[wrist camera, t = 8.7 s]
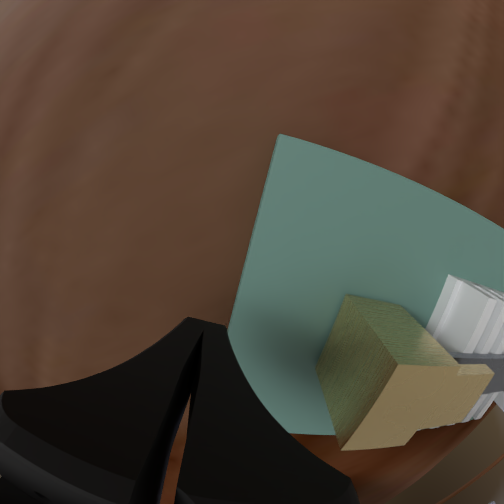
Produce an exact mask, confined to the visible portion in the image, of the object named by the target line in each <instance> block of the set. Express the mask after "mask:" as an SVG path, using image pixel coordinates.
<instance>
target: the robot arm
mask: <svg viewBox="0 0 504 504" xmlns="http://www.w3.org/2000/svg"><path fill="white" fill-rule="evenodd" d="M190 394H191V399H190V408H189V418H188V428H187V439H186V444H185V449H184V454H183V459H182V463H181V468H180V473H179V478H178V483H177V489H176V495H175V501H174V504H360V503H359V499H358V496H357V493H356V491H355V488H354V486H353V484H352V481H351V479H350V478H349V477H348V476H346V475H344V474H343V473H341V472H339V471H338V470H336V469H335V468H333V467H332V466H330V465H328V464H327V463H325V462H324V461H322V460H321V459H319V458H318V457H317V456H315V455H314V454H313V453H311V452H310V451H309V450H308V449H306V448H305V447H304V446H303V445H301V444H300V443H299V442H298V441H297V440H296V439H295V438H293V437H292V436H291V435H290V434H289V433H288V432H287V431H286V430H285V429H284V428H283V427H282V426H281V425H280V424H279V422H278V421H277V420H276V419H275V418H274V417H273V416H272V415H271V414H270V412H269V411H268V410H267V409H266V407H265V406H264V405H263V403H262V402H261V401H260V399H259V398H258V396H257V395H256V393H255V392H254V390H253V389H252V387H251V386H250V384H249V382H248V380H247V379H246V377H245V375H244V373H243V371H242V369H241V367H240V365H239V363H238V361H237V358H236V356H235V354H234V351H233V349H232V346H231V343H230V340H229V336H228V332H227V328H226V327H225V325H220V324H216V323H212V322H207V321H203V320H199V319H195V318H191V317H187V318H185V319H184V320H183V321H182V322H181V323H180V324H179V325H177V326H176V327H175V328H174V329H173V330H172V331H170V332H169V333H168V334H167V335H165V336H164V337H163V338H162V339H160V340H159V341H158V342H156V343H155V344H153V345H152V346H150V347H149V348H147V349H146V350H144V351H143V352H141V353H140V354H138V355H136V356H135V357H133V358H131V359H129V360H128V361H126V362H124V363H122V364H120V365H118V366H116V367H113V368H111V369H109V370H106V371H104V372H101V373H98V374H96V375H93V376H90V377H87V378H84V379H81V380H77V381H73V382H69V383H65V384H60V385H56V386H50V387H44V388H36V389H25V390H10V391H4V392H3V393H2V394H1V395H0V474H1V476H2V477H1V478H0V504H160V499H161V494H162V489H163V484H164V479H165V475H166V470H167V465H168V461H169V456H170V452H171V449H172V445H173V442H174V439H175V436H176V433H177V431H178V428H179V425H180V422H181V419H182V416H183V414H184V411H185V408H186V405H187V402H188V400H189V397H190ZM489 504H496V503H495V502H494V501H492V502H490V503H489Z"/></svg>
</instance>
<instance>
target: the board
mask: <svg viewBox="0 0 504 504" xmlns="http://www.w3.org/2000/svg"><path fill="white" fill-rule="evenodd" d="M346 294H349V295H354V296H359V297H363V298H368V299H373V300H378V301H383V302H388V303H392V304H397V305H401V306H402V307H403V308H404V309H405V310H406V311H407V312H408V313H409V314H410V315H411V316H412V317H413V318H414V319H415V320H416V321H417V322H418V323H419V324H420V325H421V326H422V327H423V328H424V329H425V330H426V331H427V332H428V333H429V334H430V335H431V336H432V337H433V338H434V339H435V340H436V341H437V342H438V343H439V344H440V345H441V346H442V347H443V348H444V349H445V350H446V351H447V352H460V353H479V354H504V229H503V228H501V227H499V226H498V225H496V224H495V223H493V222H491V221H490V220H488V219H486V218H484V217H483V216H481V215H479V214H477V213H476V212H474V211H472V210H470V209H468V208H467V207H465V206H463V205H461V204H459V203H457V202H455V201H453V200H451V199H450V198H448V197H446V196H444V195H442V194H440V193H438V192H435V191H433V190H431V189H429V188H427V187H425V186H423V185H421V184H418V183H416V182H414V181H412V180H410V179H407V178H405V177H403V176H400V175H398V174H396V173H393V172H391V171H389V170H386V169H384V168H381V167H379V166H376V165H374V164H371V163H368V162H366V161H363V160H360V159H358V158H355V157H352V156H349V155H347V154H344V153H341V152H338V151H335V150H332V149H329V148H326V147H323V146H320V145H317V144H314V143H310V142H307V141H304V140H300V139H297V138H294V137H290V136H286V135H283V134H279V135H278V137H277V140H276V144H275V147H274V151H273V155H272V159H271V163H270V167H269V171H268V174H267V178H266V182H265V186H264V190H263V194H262V198H261V201H260V205H259V209H258V213H257V217H256V221H255V225H254V229H253V232H252V236H251V240H250V244H249V248H248V252H247V256H246V260H245V264H244V268H243V271H242V275H241V279H240V283H239V287H238V291H237V295H236V299H235V303H234V307H233V311H232V315H231V319H230V323H229V327H228V331H227V332H228V336H229V340H230V343H231V346H232V349H233V351H234V354H235V356H236V358H237V361H238V363H239V365H240V367H241V369H242V371H243V373H244V375H245V377H246V379H247V380H248V382H249V384H250V386H251V387H252V389H253V390H254V392H255V393H256V395H257V396H258V398H259V399H260V401H261V402H262V403H263V405H264V406H265V407H266V409H267V410H268V411H269V412H270V414H271V415H272V416H273V417H274V418H275V419H276V420H277V421H278V422H279V424H280V425H281V426H282V427H283V428H284V429H285V430H286V431H287V432H288V433H298V434H319V435H336V434H335V430H334V427H333V424H332V420H331V417H330V414H329V411H328V408H327V404H326V401H325V398H324V395H323V392H322V388H321V385H320V382H319V379H318V376H317V373H316V370H315V367H316V365H317V362H318V360H319V358H320V356H321V353H322V351H323V349H324V347H325V344H326V342H327V340H328V337H329V335H330V333H331V330H332V328H333V325H334V323H335V320H336V318H337V315H338V313H339V310H340V308H341V305H342V303H343V300H344V297H345V295H346ZM493 401H495V402H496V404H497V405H498V406H499V407H500V408H501V409H502V411H503V412H504V391H500V392H495V393H489V394H482V395H481V396H480V397H479V399H478V400H477V402H476V403H475V404H474V406H473V407H472V409H471V410H470V411H469V413H468V414H467V415H466V417H465V418H464V419H463V420H462V423H463V422H467V421H469V420H473V419H475V420H476V419H480V418H481V417H482V416H483V414H484V413H485V412H486V410H487V409H488V408H489V406H490V405H491V403H492V402H493ZM459 423H460V422H459ZM454 424H455V423H454ZM454 424H449V425H454ZM449 425H447V426H449ZM438 427H439V426H438ZM438 427H432V428H438ZM432 428H430V429H432ZM425 429H426V428H425ZM418 430H421V429H418ZM418 430H417V431H418Z"/></svg>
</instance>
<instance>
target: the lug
mask: <svg viewBox="0 0 504 504" xmlns="http://www.w3.org/2000/svg"><path fill="white" fill-rule="evenodd" d="M315 370H316V373H317V376H318V379H319V382H320V385H321V388H322V392H323V395H324V398H325V401H326V404H327V408H328V411H329V414H330V417H331V420H332V424H333V427H334V430H335V434H336V437H337V440H338V443H339V447H340V450H362V449H375V448H385V447H394V446H402V445H405V444H406V443H407V442H408V441H409V439H410V438H411V437H412V436H413V435H414V433H415V432H416V431H417V430H418V429H425V428H432V427H438V426H444V425H449V424H454V423H459V422H462V420H463V419H464V418H465V417H466V415H467V414H468V413H469V411H470V410H471V409H472V407H473V406H474V404H475V403H476V402H477V400H478V399H479V397H480V396H481V394H482V393H483V391H484V390H485V388H486V387H487V385H488V384H489V382H490V381H491V379H492V377H493V376H494V374H495V373H494V372H493V371H492V370H491V369H490V368H489V367H488V366H487V365H486V364H458V362H457V361H456V360H455V359H454V358H453V357H452V356H451V355H450V354H449V353H448V352H447V351H446V350H445V349H444V348H443V347H442V346H441V345H440V344H439V343H438V342H437V341H436V340H435V339H434V338H433V337H432V336H431V335H430V334H429V333H428V332H427V331H426V330H425V329H424V328H423V327H422V326H421V325H420V324H419V323H418V322H417V321H416V320H415V319H414V318H413V317H412V316H411V315H410V314H409V313H408V312H407V311H406V310H405V309H404V308H403V307H402V306H401V305H397V304H392V303H388V302H383V301H378V300H373V299H368V298H363V297H359V296H354V295H349V294H346V295H345V297H344V300H343V303H342V305H341V308H340V310H339V313H338V315H337V318H336V320H335V323H334V325H333V328H332V330H331V333H330V335H329V337H328V340H327V342H326V344H325V347H324V349H323V351H322V353H321V356H320V358H319V360H318V362H317V365H316V367H315Z"/></svg>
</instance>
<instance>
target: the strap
mask: <svg viewBox="0 0 504 504" xmlns="http://www.w3.org/2000/svg"><path fill="white" fill-rule="evenodd" d="M448 353H449V354H450V355H451V356H452V357H453V358H454V359H455V360H456V361H457V362H458V364H486V365H487V366H488V367H489V368H490V369H491V370H492V371H493V372H494V373H495V374H494V376H493V377H492V379H491V381H490V382H489V384H488V385H487V387H486V388H485V390H484V391H483V393H482V394H489V393H495V392H500V391H504V354H479V353H460V352H448ZM482 394H481V395H482Z"/></svg>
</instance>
